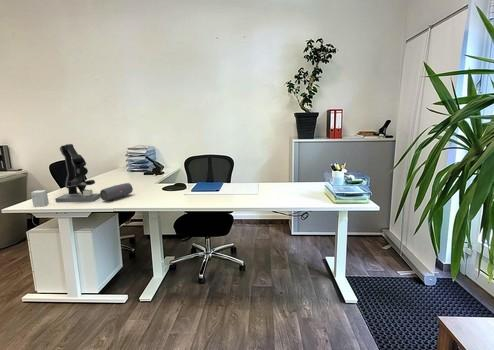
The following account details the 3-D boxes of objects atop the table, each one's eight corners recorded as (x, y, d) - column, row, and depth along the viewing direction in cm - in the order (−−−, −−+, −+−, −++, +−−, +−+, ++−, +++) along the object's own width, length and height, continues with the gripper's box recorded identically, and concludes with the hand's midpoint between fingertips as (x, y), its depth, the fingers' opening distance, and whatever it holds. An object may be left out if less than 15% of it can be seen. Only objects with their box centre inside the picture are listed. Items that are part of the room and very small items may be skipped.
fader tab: (86, 194, 233) (85, 189, 233) (92, 194, 233) (92, 189, 232) (83, 196, 230) (82, 190, 229) (90, 195, 229) (89, 190, 229)
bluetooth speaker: (108, 203, 221) (106, 189, 219) (100, 201, 226) (98, 188, 224) (133, 195, 240) (132, 182, 238) (125, 194, 245) (124, 181, 243)
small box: (49, 204, 224) (46, 189, 221) (44, 206, 218) (42, 191, 216) (38, 204, 223) (35, 190, 221) (33, 206, 218) (30, 192, 216)
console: (65, 197, 239) (65, 194, 238) (101, 197, 238) (100, 193, 237) (55, 202, 227) (55, 198, 227) (92, 201, 226) (92, 197, 225)
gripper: (60, 175, 221) (63, 196, 224) (85, 175, 220) (88, 196, 223) (69, 172, 232) (72, 193, 235) (94, 172, 231) (96, 192, 234)
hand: (82, 193), depth 231 cm, fingers closed
